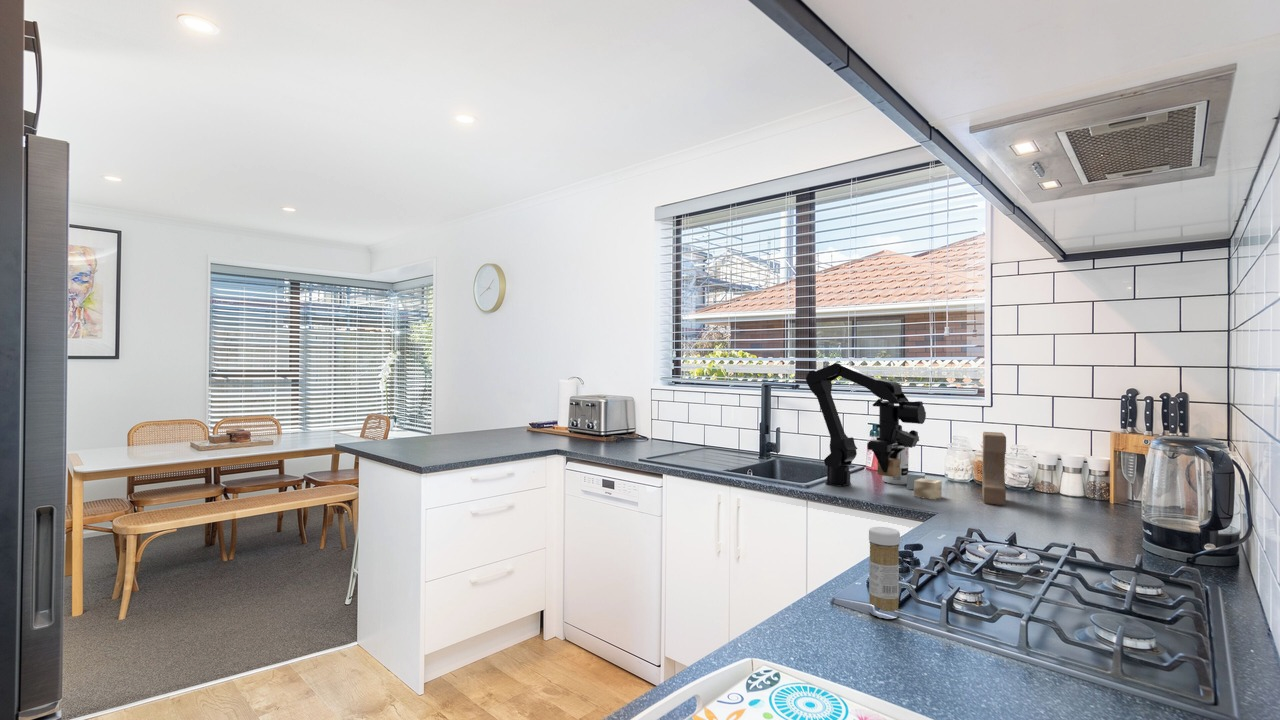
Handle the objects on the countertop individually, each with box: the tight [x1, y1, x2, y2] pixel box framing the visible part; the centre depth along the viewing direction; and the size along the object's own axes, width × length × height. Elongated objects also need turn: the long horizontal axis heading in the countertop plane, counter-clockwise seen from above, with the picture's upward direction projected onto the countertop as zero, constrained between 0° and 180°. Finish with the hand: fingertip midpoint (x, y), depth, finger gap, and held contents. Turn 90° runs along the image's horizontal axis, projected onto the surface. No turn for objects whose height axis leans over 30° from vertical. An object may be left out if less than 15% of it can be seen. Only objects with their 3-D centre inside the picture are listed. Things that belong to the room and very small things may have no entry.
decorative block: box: [981, 431, 1007, 506], centre depth 183 cm, size 11×6×20 cm, turn 152°
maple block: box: [913, 478, 943, 500], centre depth 188 cm, size 6×6×5 cm
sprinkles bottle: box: [868, 526, 901, 611], centre depth 97 cm, size 5×5×14 cm
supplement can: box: [881, 446, 910, 485], centre depth 211 cm, size 8×8×15 cm
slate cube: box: [906, 471, 926, 490], centre depth 200 cm, size 5×5×5 cm
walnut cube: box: [876, 458, 900, 477], centre depth 193 cm, size 5×5×5 cm
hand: (888, 471), depth 193 cm, fingers closed on walnut cube, 5 cm apart
